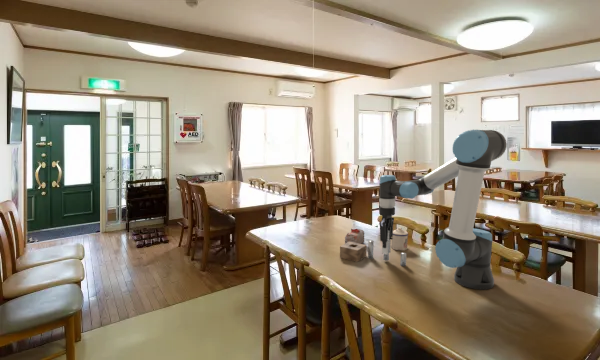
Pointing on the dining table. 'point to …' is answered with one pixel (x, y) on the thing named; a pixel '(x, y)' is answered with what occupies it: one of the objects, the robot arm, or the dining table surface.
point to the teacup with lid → (399, 239)
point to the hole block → (353, 251)
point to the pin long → (386, 256)
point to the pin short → (403, 259)
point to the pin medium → (370, 249)
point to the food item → (355, 236)
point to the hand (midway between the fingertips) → (386, 252)
